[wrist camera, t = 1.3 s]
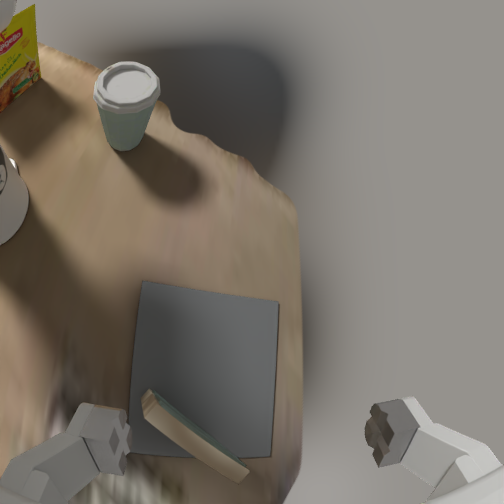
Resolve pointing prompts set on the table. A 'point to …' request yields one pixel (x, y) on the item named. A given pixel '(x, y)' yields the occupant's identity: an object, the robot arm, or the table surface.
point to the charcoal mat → (205, 367)
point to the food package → (18, 56)
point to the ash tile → (191, 437)
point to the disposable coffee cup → (126, 102)
